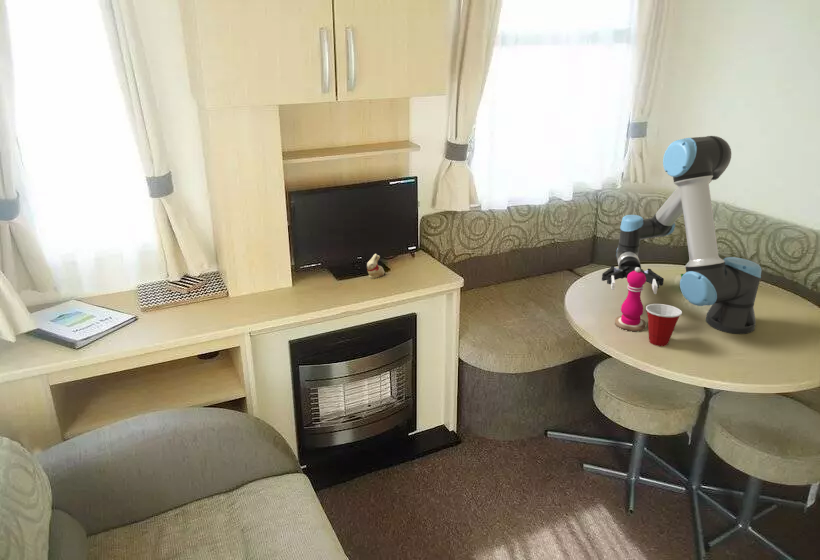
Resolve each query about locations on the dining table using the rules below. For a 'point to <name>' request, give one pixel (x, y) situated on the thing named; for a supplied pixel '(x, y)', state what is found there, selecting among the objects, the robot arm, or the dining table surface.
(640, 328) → the brown cream oval disc
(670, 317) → the plastic cup
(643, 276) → the pepper mill
